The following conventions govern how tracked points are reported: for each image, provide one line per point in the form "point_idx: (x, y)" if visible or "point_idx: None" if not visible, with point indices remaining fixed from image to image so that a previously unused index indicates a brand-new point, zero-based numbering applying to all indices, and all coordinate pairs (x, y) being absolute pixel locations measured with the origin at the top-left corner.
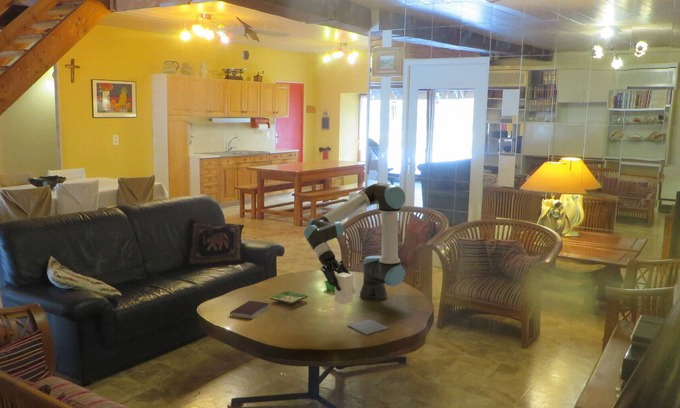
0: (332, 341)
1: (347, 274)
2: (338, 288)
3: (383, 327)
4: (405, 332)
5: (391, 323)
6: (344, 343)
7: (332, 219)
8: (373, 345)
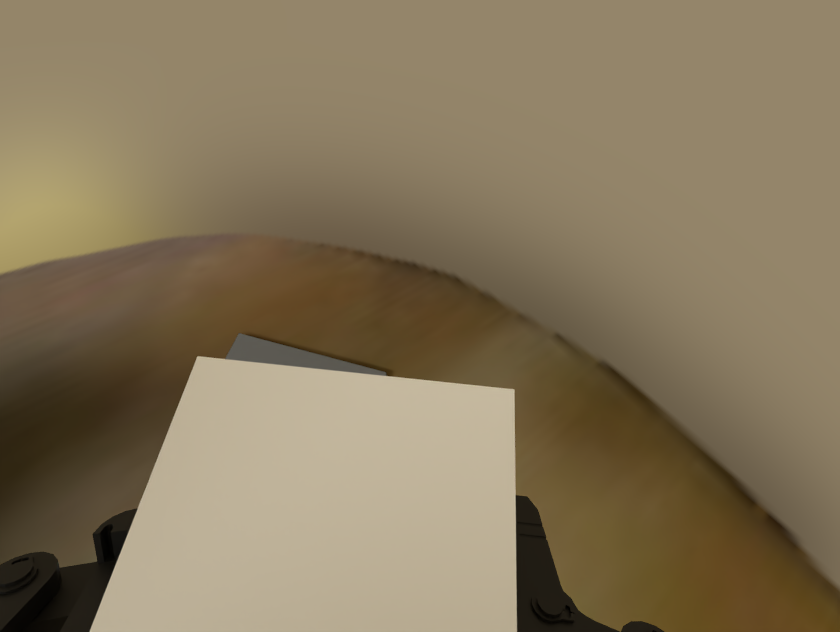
0: (580, 467)
1: (226, 494)
2: (538, 522)
3: (252, 355)
4: (250, 260)
5: (157, 366)
6: (550, 398)
7: None
8: (469, 286)
